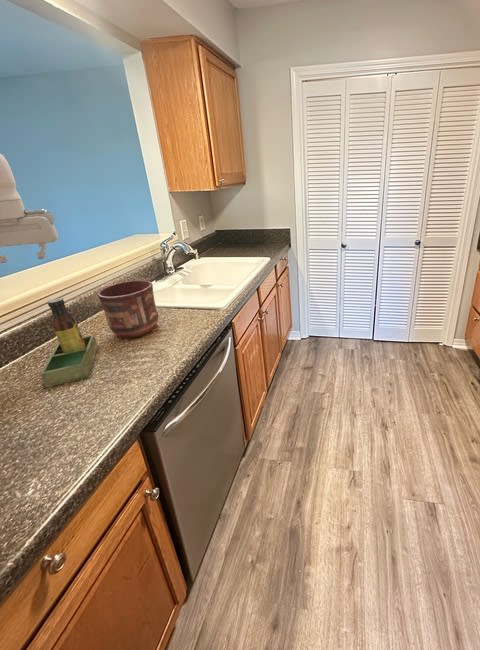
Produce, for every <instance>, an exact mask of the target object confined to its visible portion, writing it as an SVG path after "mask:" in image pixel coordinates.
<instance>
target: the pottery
mask: <svg viewBox="0 0 480 650" xmlns="http://www.w3.org/2000/svg"><path fill="white" fill-rule="evenodd" d="M97 296H98V299H99V301H100V305H101V306H102V309H103V312H104V314H105V317H106V321H107V324H108V327H109V329H110V331H111V332H112V333H113V334H114V335H115V336H117V337H119V338H121V339H124V340H135V339H139V338H142V337H145V336H148V335H149V334H150V333H151V332H153V331H154V329H155V328H156V327H157V325H158V322H159V317H160V316H159V311H158V308H157V305H156V299H155V295H154V285H153V283H152V281H149V280H145V279H135V280H127V281H121V282H117V283H113V284H111V285H108V286H106V287H104V288H102V289H100V290H99V291H98V293H97Z"/></svg>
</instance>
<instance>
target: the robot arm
mask: <svg viewBox="0 0 480 650" xmlns="http://www.w3.org/2000/svg"><path fill="white" fill-rule="evenodd" d="M54 223H55V220H54V216H53V214H52V213H51V212H50V211H47V210H45V209H41V208H40V209H27V210H26V208H25V205H24V202H23V199H22V197H21V195H20V194H19V192H18V190H17V182H16V179H15V176H14V174H13V171H12V168H11V166H10V163H8V160H7V158H6V157H5V156H4V155H3V154H2V153H1V152H0V248H3V247H14V246H24V245H25V246H26V245H36V244H37V245H38V247H39V248H40V251H38V252H37V253H36V256H37V259H38V260H43V259H44V260H45V259H47V255H46V249H47V246H48V245H47V243H48V244H49V243H56V242H57V241H58V240H59V238H60V237H59V233H58V231H57V228H56V225H54ZM7 262H8V259H7V257H6V255H1V254H0V264H4V263H7Z"/></svg>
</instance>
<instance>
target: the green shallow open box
mask: <svg viewBox="0 0 480 650" xmlns="http://www.w3.org/2000/svg"><path fill="white" fill-rule="evenodd" d="M82 338H83V340H84V343H85V346H86V349H81V350H77V351H72V352H67V353H64V352H63V350H62V348H61V345H60V343H59V341H58V342H57V344H56V346H55V347H54V348H53V350H52V352H51V354H50V356H49V358H48V359H47V360H46V362H45V365H44V366H43V368H42V370H41V371H40V377H41V379H42V382H43V384H44V386H45V388H51V387H55V386H59V385H64V384H69V383H71V382H72V383H73V382H77V381H81V380H85V379H88V378H89V376H90V373H91V370H92V367H93V363H94V361H95V358H96V354H97V351H98V347H99V345H98V342H97V340H96V336H95V334H91V335H86V336H82Z"/></svg>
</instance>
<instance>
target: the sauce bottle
mask: <svg viewBox="0 0 480 650" xmlns="http://www.w3.org/2000/svg"><path fill="white" fill-rule="evenodd" d="M47 305H48V307H49V308H50V311H51V314H52V315H53V316H52V319H51V325H52V327H53V330H54V333H55V335H56V338H57V340H58V342H59V343H60V345H61V348H62V350H63V352H64V353H67V352H72V351H77V350H81V349H86V346H85V343H84V340H83V338H82V337H83V336H82V333H81V331H80V328H79V324H78V322H77V319H76V318H75V317H73V315H72V314H71V313H70V312H69V310H68V309H67V307H66V304H65V300H64V298H63V297H57V298H53V299H50V300H47Z"/></svg>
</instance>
